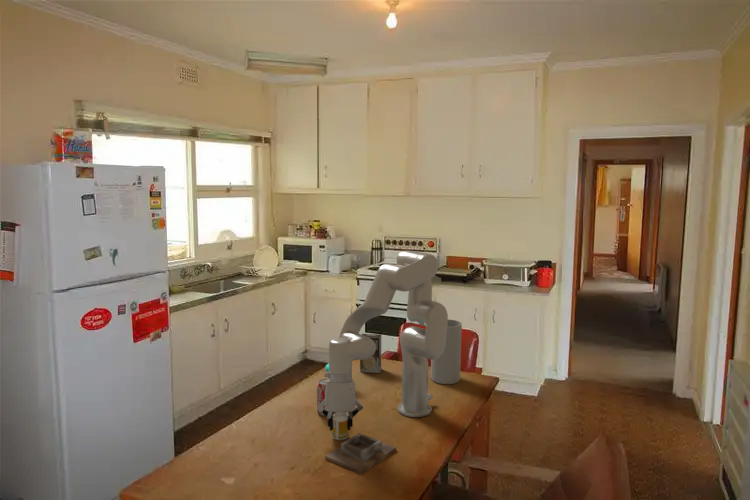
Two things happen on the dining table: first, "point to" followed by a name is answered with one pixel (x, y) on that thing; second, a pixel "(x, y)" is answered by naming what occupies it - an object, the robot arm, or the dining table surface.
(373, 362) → the coffee box
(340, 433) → the supplement bottle
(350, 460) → the holder
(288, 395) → the dining table surface
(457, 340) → the cylinder vase
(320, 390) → the soda can
